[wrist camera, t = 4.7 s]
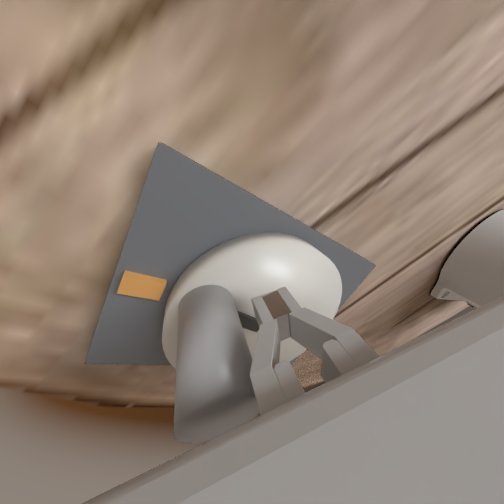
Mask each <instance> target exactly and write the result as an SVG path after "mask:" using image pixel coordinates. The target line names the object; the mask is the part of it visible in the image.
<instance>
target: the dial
mask: <svg viewBox="0 0 504 504" xmlns="http://www.w3.org/2000/svg"><path fill="white" fill-rule="evenodd" d="M284 286H285V287H286V288H287V289H288V290H289V292H290V293H291V294H292V296H293V297H294V298H295V300H296V301H297V302H298V304H299V305H300V306H301V308H304V307H305V308H307V309H310V310H312V311H314V312H316V313H319V314H321V315H323V316H325V317H328V318H330V319H332V320H333V318H334V316H335V314H336V312H337V310H338V307H339V304H340V301H341V296H342V281H341V277H340V274H339V271H338V270H337V268H336V266H335V265H334V263H333V262H332V261H331V260H330V259H329V258H328V257H326V256H325V255H324V254H323V253H321V252H320V251H319V250H317V249H316V248H315V247H313V246H312V245H311V244H309V243H308V242H307V241H305V240H303V239H301V238H299V237H296V236H293V235H290V234H285V233H278V232H262V233H254V234H248V235H244V236H240V237H237V238H234V239H231V240H229V241H226V242H224V243H222V244H220V245H218V246H216V247H214V248H212V249H210V250H209V251H207V252H206V253H205V254H203V255H202V256H200V257H199V258H198V259H196V260H195V261H194V262H193V263H192V264H191V265H190V266H188V268H187V269H186V270H185V271H184V272H183V273H182V274H181V276H180V277H179V278H178V280H177V281H176V283H175V284H174V286H173V288H172V290H171V292H170V294H169V296H168V299H167V303H166V307H165V314H164V322H163V330H162V346H163V351H164V353H165V356H166V358H167V360H168V361H169V362H170V364H171V365H172V366H173V367H174V368H175V369H176V383H175V408H174V437H175V439H177V440H178V441H180V442H183V443H199V442H205V441H209V440H212V439H214V438H216V437H218V436H220V435H222V434H224V433H226V432H228V431H230V430H232V429H234V428H236V427H238V426H240V425H242V424H244V423H246V422H248V421H250V420H252V419H253V418H255V417H256V416H257V415H258V414H259V413H260V410H259V407H258V403H257V399H256V396H255V392H254V389H253V385H252V382H251V378H250V370H251V366H252V361H253V356H254V351H255V346H256V342H257V337H258V332H259V325H258V323H257V320H256V316H255V313H254V309H253V305H252V301H251V298H254V297H257V296H260V295H263V294H266V293H268V292H271V291H274V290H276V289H279V288H282V287H284ZM306 350H307V349H306V348H305V347H303V346H302V345H300V344H299V343H298V342H296V341H295V340H293V339H292V338H291V337H290V338H287V339H285V340H283V341H280V358H279V363H280V362H282V361H284V360H286V361H288V362H290V361H291V360H293V359H294V358H296V357H298V356H299V355H300V354H302V353H303V352H304V351H306Z"/></svg>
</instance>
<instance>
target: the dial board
mask: <svg viewBox="0 0 504 504" xmlns="http://www.w3.org/2000/svg"><path fill="white" fill-rule="evenodd" d="M262 232H278V233H285V234H290V235H293V236H296V237H299V238H301V239H303V240H305V241H307V242H308V243H309V244H311V245H312V246H313V247H315V248H316V249H317V250H319V251H320V252H321V253H323V254H324V255H325V256H326V257H328V258H329V259H330V260H331V261H332V262H333V263H334V265H335V266H336V268H337V270H338V271H339V274H340V277H341V281H342V296H341V301H340V304H339V307H338V309H339V308H340V307H341V306H342V305H343V304H344V302H345V301H346V300H347V299H348V298H349V297H350V295H351V294H352V293H353V292H354V291H355V290H356V288H357V287H358V286H359V285H360V284H361V283H362V281H363V280H364V279H365V278H366V277H367V276H368V274H369V273H370V272H371V271H372V270H373V269H374V267H375V266H376V265H375V264H373V263H371V262H370V261H368V260H366V259H365V258H363V257H362V256H360V255H358V254H356V253H355V252H353V251H351V250H349V249H348V248H346V247H344V246H342V245H341V244H339V243H337V242H335V241H334V240H332V239H330V238H328V237H326V236H325V235H323V234H321V233H319V232H318V231H316V230H314V229H312V228H311V227H309V226H307V225H305V224H304V223H302V222H300V221H298V220H297V219H295V218H293V217H291V216H290V215H288V214H286V213H284V212H283V211H281V210H279V209H277V208H276V207H274V206H272V205H270V204H269V203H267V202H265V201H263V200H262V199H260V198H258V197H256V196H254V195H253V194H251V193H249V192H247V191H246V190H244V189H242V188H240V187H239V186H237V185H235V184H233V183H232V182H230V181H228V180H226V179H225V178H223V177H221V176H219V175H218V174H216V173H214V172H212V171H211V170H209V169H207V168H205V167H204V166H202V165H200V164H198V163H197V162H195V161H193V160H191V159H190V158H188V157H186V156H184V155H182V154H181V153H179V152H177V151H175V150H174V149H172V148H170V147H168V146H167V145H165V144H163V143H159V142H158V145H157V148H156V151H155V154H154V157H153V160H152V163H151V166H150V169H149V172H148V175H147V178H146V181H145V184H144V187H143V190H142V193H141V196H140V199H139V202H138V205H137V208H136V211H135V214H134V217H133V220H132V222H131V225H130V228H129V231H128V234H127V237H126V240H125V243H124V246H123V249H122V252H121V255H120V258H119V261H118V264H117V267H116V270H115V273H114V276H113V279H112V282H111V285H110V288H109V291H108V294H107V297H106V300H105V303H104V306H103V309H102V312H101V315H100V318H99V321H98V324H97V327H96V330H95V333H94V336H93V339H92V342H91V345H90V348H89V351H88V354H87V357H86V360H85V362H84V364H146V365H171V364H170V362H169V361H168V360H167V358H166V356H165V353H164V351H163V346H162V330H163V322H164V314H165V307H166V303H167V299H168V296H169V294H170V292H171V290H172V288H173V286H174V284H175V283H176V281H177V280H178V278H179V277H180V276H181V274H182V273H183V272H184V271H185V270H186V269H187V268H188V266H190V265H191V264H192V263H193V262H194V261H195V260H196V259H198V258H199V257H200V256H202V255H203V254H205V253H206V252H207V251H209V250H210V249H212V248H214V247H216V246H218V245H220V244H222V243H224V242H226V241H229V240H231V239H234V238H237V237H240V236H244V235H248V234H254V233H262ZM337 311H338V310H337ZM296 358H297V357H296ZM296 358H294V359H293V360H291V361H290V364H292V363H293V362H294V361H295V360H296Z"/></svg>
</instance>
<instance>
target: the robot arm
mask: <svg viewBox="0 0 504 504" xmlns="http://www.w3.org/2000/svg"><path fill="white" fill-rule="evenodd" d="M430 295H431V296H432V297H435V298H437V299H445V300H458V301H466V303H467V304H468V305H470V306H472V307H476V308H477V307H478V308H477V309H475V310H473V311H471V312H469V313H467V314H465V315H463V316H461V317H458V318H456V319H454V320H453V321H450V322H448V323H446V324H444V325H442V326H440V327H438V328H436V329H434V330H432V331H430V332H428V333H426V334H424V335H422V336H420V337H418V338H416V339H414V340H412V341H410V342H408V343H406V344H404V345H402V346H400V347H398V348H396V349H394V350H392V351H390V352H388V353H386V354H384V355H382V356H378V355H377V354H376V352H375V351H374V350H373V349H372V348H371V347H370V346H369V345H368V344H367V343H366V342H365V341H364V340H363V339H362V337H361V336H360V335H359V334H358V333H357V332H356V331H355V330H354V329H353V328H350V327H348V326H346V325H344V324H341V323H339V322H337V321H335V320H332V319H330V318H328V317H325V316H323V315H321V314H319V313H316V312H314V311H312V310H310V309H307V308H305V307H304V308H301V306H300V305H299V304H298V302H297V301H296V300H295V298H294V297H293V296H292V294H291V293H290V292H289V290H288V289H287V288H286V287H285V286H284V287H282V288H279V289H276V290H274V291H271V292H268V293H266V294H263V295H260V296H257V297H254V298H251V301H252V305H253V309H254V313H255V316H256V320H257V323H258V325H259V332H258V337H257V342H256V346H255V351H254V356H253V361H252V366H251V370H250V378H251V382H252V385H253V389H254V392H255V396H256V399H257V403H258V407H259V410H260V414H261V415H260V416H258V417H256V418H254V419H252V420H250V421H248V422H246V423H244V424H242V425H240V426H238V427H236V428H234V429H232V430H230V431H228V432H226V433H224V434H222V435H220V436H218V437H216V438H214V439H212V440H209V441H207V442H206V443H203V444H201V445H199V446H198V447H196V448H193V449H191V450H189V451H187V452H185V453H183V454H181V455H179V456H177V457H175V458H174V459H171V460H169V461H167V462H165V463H163V464H161V465H159V466H157V467H155V468H153V469H151V470H149V471H147V472H145V473H143V474H141V475H139V476H137V477H135V478H133V479H131V480H129V481H127V482H125V483H123V484H121V485H118V486H116V487H114V488H113V489H111V490H108V491H106V492H104V493H102V494H100V495H98V496H96V497H94V498H93V499H90V500H88V501H86V502H84V503H82V504H504V209H503V210H501V211H498V212H497V213H495V214H493V215H492V216H490V217H488V218H487V219H486V220H484V221H483V222H482V223H480V224H479V225H478V226H477V227H476V228H475V229H473V230H472V231H471V232H470V233H469V234H468V235H467V236H466V237H465V238H464V239H463V240H462V242H461V243H460V244H459V245H458V246H457V247H456V249H455V250H454V251H453V252H452V254H451V255H450V256H449V258H448V259H447V261H446V263H445V264H444V266H443V268H442V270H441V273H440V276H439V279H438V282H437V284H436V285H435V287H434V288H433V290H432V292H431V294H430ZM290 337H291V338H292V339H293V340H295V341H296V342H298V343H299V344H300V345H302V346H303V347H305V348H306V349H308V350H309V351H311V352H312V353H314V354H315V355H316V356H318V357H319V358H321V359H322V364H321V377H322V378H323V380H324V382H325V384H323V385H321V386H319V387H317V388H315V389H313V390H311V391H309V392H307V393H305V391H304V389H303V387H302V385H301V383H300V381H299V380H298V378H297V376H296V374H295V372H294V370H293V368H292V366H291V364H290V362H288V361H286V360H284V361H282V362H280V363H279V358H280V341H283V340H285V339H287V338H290Z"/></svg>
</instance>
